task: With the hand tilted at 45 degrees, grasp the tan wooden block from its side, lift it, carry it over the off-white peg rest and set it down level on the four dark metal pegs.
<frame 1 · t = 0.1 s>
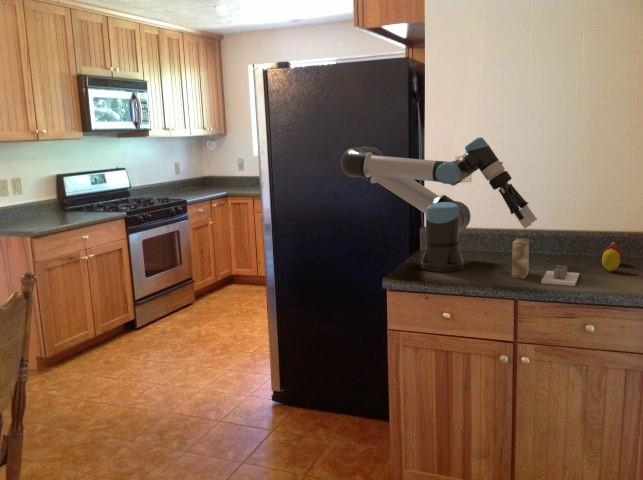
hand: (531, 224, 212), 15 cm above the worktop, tool tilted 35°, fingers open, 13 cm apart
tan wooden block: (520, 275, 201), on the worktop
onion: (612, 264, 211), on the worktop
peg rest: (560, 279, 193), on the worktop
lemon: (610, 272, 201), on the worktop
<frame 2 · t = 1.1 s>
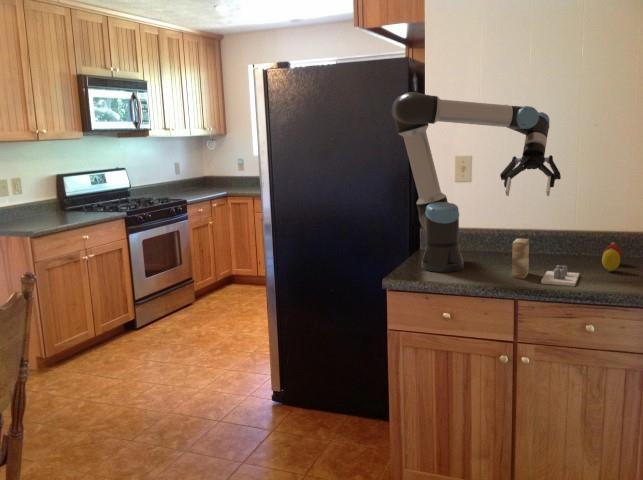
hand: (527, 193, 205), 27 cm above the worktop, tool tilted 45°, fingers open, 13 cm apart
nothing on the worktop moved.
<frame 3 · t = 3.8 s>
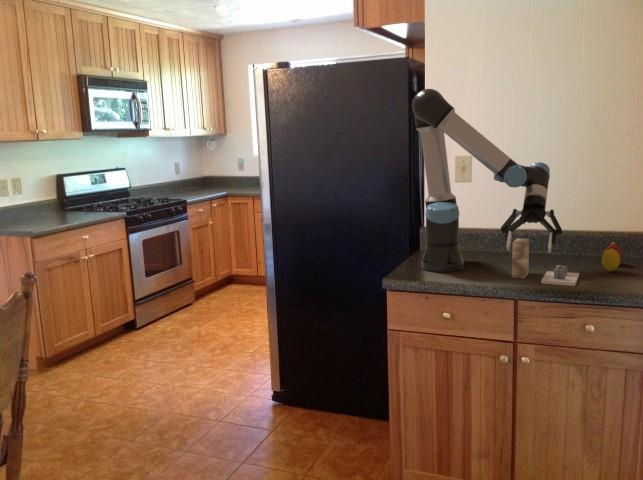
hand: (528, 249, 202), 8 cm above the worktop, tool tilted 45°, fingers open, 13 cm apart
nothing on the worktop moved.
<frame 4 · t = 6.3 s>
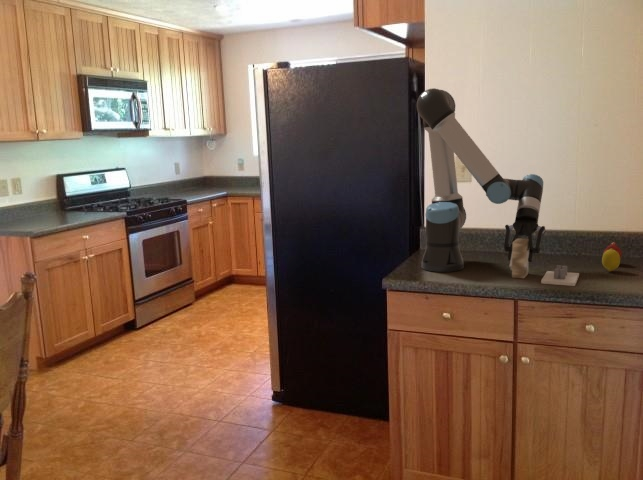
hand: (518, 268, 197), 3 cm above the worktop, tool tilted 45°, fingers closed on tan wooden block, 4 cm apart
tan wooden block: (520, 275, 201), on the worktop, touching gripper
everything else where it was.
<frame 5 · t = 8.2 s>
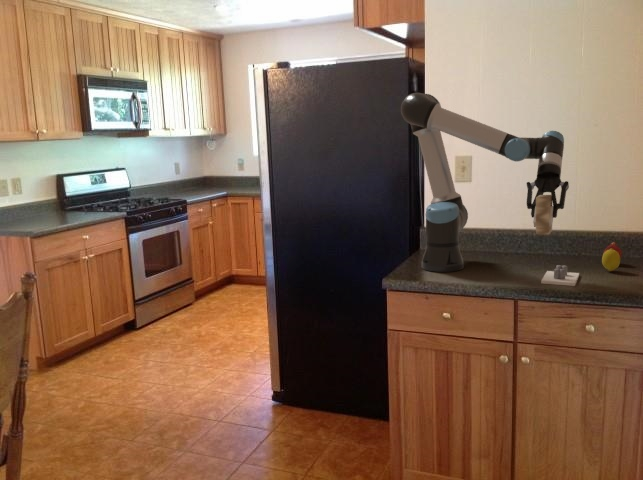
hand: (542, 224, 190), 18 cm above the worktop, tool tilted 45°, fingers closed on tan wooden block, 4 cm apart
tan wooden block: (544, 232, 194), point 15 cm above the worktop, touching gripper
everything else where it was.
when the fingers open (8 cm above the worktop, at t = 10.5 s): tan wooden block stays where it is, resting on peg rest.
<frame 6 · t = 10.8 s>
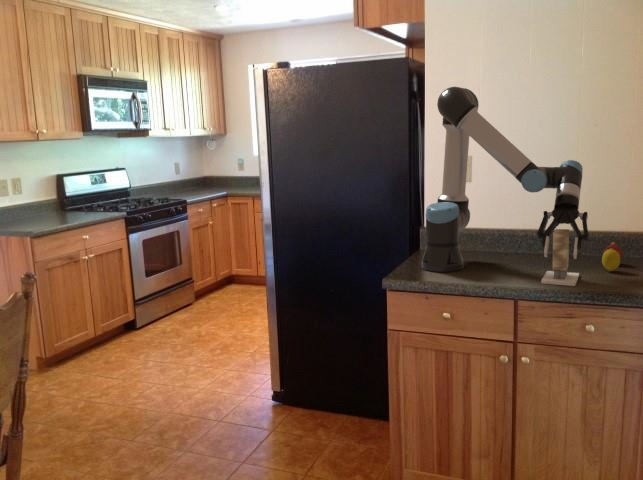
hand: (560, 255, 188), 9 cm above the worktop, tool tilted 45°, fingers open, 8 cm apart
tan wooden block: (560, 267, 192), point 4 cm above the worktop, touching peg rest
everything else where it was.
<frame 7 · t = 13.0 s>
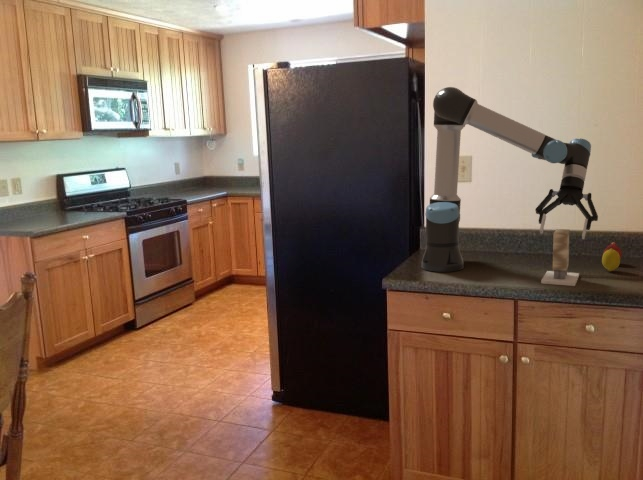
hand: (561, 235, 202), 13 cm above the worktop, tool tilted 35°, fingers open, 13 cm apart
nothing on the worktop moved.
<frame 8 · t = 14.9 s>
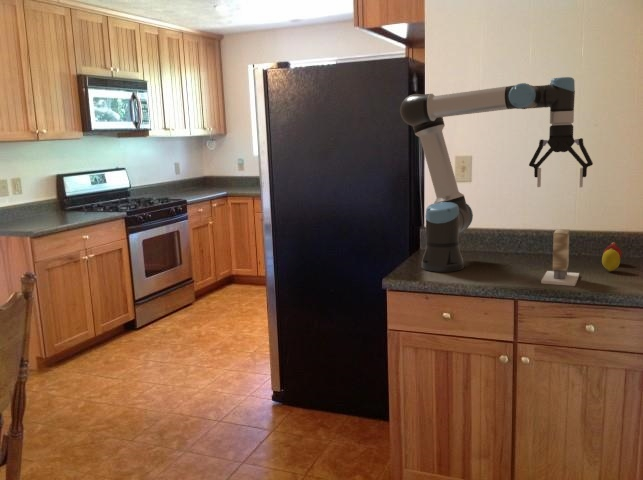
hand: (559, 187, 204), 29 cm above the worktop, tool pointing down, fingers open, 13 cm apart
nothing on the worktop moved.
at the end: tan wooden block 0.1 cm off-centre on the peg rest, point 4.0 cm above the peg rest's base; tan wooden block tilted 0°; the gripper is holding nothing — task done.
